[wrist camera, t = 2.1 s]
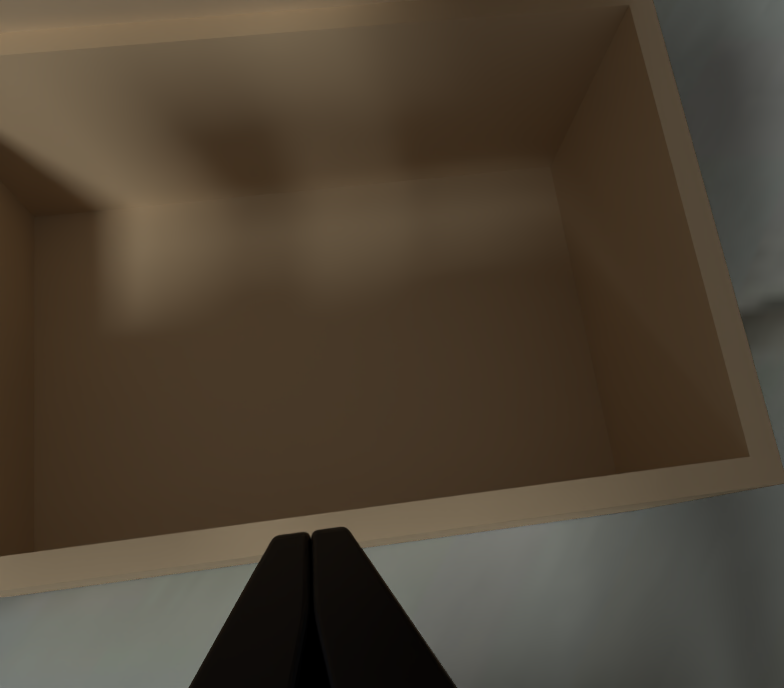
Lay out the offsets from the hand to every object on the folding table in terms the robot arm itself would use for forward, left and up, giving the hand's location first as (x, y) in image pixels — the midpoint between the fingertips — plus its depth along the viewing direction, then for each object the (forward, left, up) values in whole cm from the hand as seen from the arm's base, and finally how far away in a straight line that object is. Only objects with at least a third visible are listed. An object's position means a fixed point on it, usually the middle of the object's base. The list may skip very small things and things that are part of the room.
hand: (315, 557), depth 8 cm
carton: (+5, -4, -13) cm, 15 cm away
